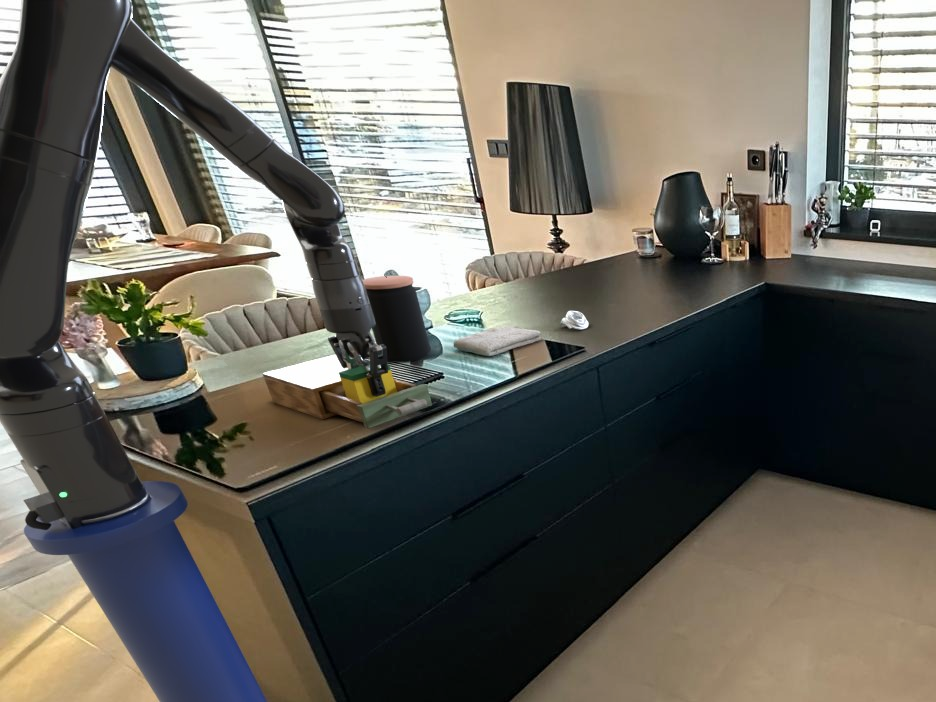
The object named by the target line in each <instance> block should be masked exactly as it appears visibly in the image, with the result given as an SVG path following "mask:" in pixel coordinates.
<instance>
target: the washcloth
mask: <svg viewBox="0 0 936 702" xmlns="http://www.w3.org/2000/svg"><path fill="white" fill-rule="evenodd" d="M542 339H543V338H542V336H541V331H539V330H535V329H526V328H523V327H521V326H518V325H517V326H515V325H506V326H503V327H491V328H489V329H487V330H483V331H480V332H475V333H473V334H470V335H467V336H464V337H459V338H458V339H456V340H455V341H454V342H453V345H452V346H453V347H454V348H455V349H456V350H458V351H461V352H467V353H473V354H476V355H481V356H485V357H493V356H496V355H499V354H502V353H505V352H508V351H511V350H513V349H515V348H519V347H524V346H527V345H531V344H533V343H535V342H540V341H542Z"/></svg>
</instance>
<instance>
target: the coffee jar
mask: <svg viewBox="0 0 936 702" xmlns="http://www.w3.org/2000/svg"><path fill="white" fill-rule="evenodd" d="M385 276H387V278H386V277H385ZM362 281H363V283H364V286H365V288H366V292H367V295H368V298H369V302H370V305H371V309H372V312H373V315H374V319H375V322H376V324H375V326H374V327H373V328H371V331H372V334H373V339H374V341H375V343H376V344H377V345H382V344H384V345H385V346H386V348H387V361H388V362H389V363H407V362H414V361H417V360H418V361H419V360H421V359H424V358H426V357H428V356H429V355H430V352H431V343H430V340H429V337H428V333H427V329H426V325H425V321H424V317H423V313H422V309H421V305H420V301H419V297H418V293H417V290H416V287H414V286H413V284H414V278H413V277H412V276H408V275H382V276H373V277H368V278H364V279H362Z"/></svg>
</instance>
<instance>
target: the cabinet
mask: <svg viewBox="0 0 936 702" xmlns="http://www.w3.org/2000/svg"><path fill="white" fill-rule="evenodd" d="M345 370H348V369H347V368H343V367H342V366H341V364H340V362H339V360H338V358H337V356H336V355H335V354H332V355H329V356H325V357H321V358H316V359H313V360H309V361H305V362H301V363H298V364H297V363H296V364H294V365H290V366H289V365H288V366H286V367H282V368H278V369H274V370H269V371H267V372H263V373H262V376H263V379H264V382H265V384H266V387H267V389H268V392H269V395H270V397H271V400H272V402H273V403H274V404H276V405H280V406H283V407H285V408H289V409H292V410H295V411H297V412H299V413H303V414H306V415H309V416H312V417H315V418H317V419H321V420H326V419H329V418H331V417H335V416H337V415H339V414H336V413H333V412H330V411H327V410H325V409H324V406H323V404H322V401H321V398H320V395H319V391H322V390H326V389H329V388H332V387H336V386H339V385H342V381H341V378H340V375H339V372H342V371H345Z"/></svg>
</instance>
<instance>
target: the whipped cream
mask: <svg viewBox="0 0 936 702" xmlns="http://www.w3.org/2000/svg"><path fill="white" fill-rule="evenodd" d="M559 326H560V327H561V328H564V327H567V328H568V329H570V330H571V329H574V330H585V329H588V327H589V321H588V320H587V317H586V316H585V315H584V313H582V312H581V311H577V310H568V311H567V312H566V315H565V317H563V318H562V319H561V321H560V323H559Z"/></svg>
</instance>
